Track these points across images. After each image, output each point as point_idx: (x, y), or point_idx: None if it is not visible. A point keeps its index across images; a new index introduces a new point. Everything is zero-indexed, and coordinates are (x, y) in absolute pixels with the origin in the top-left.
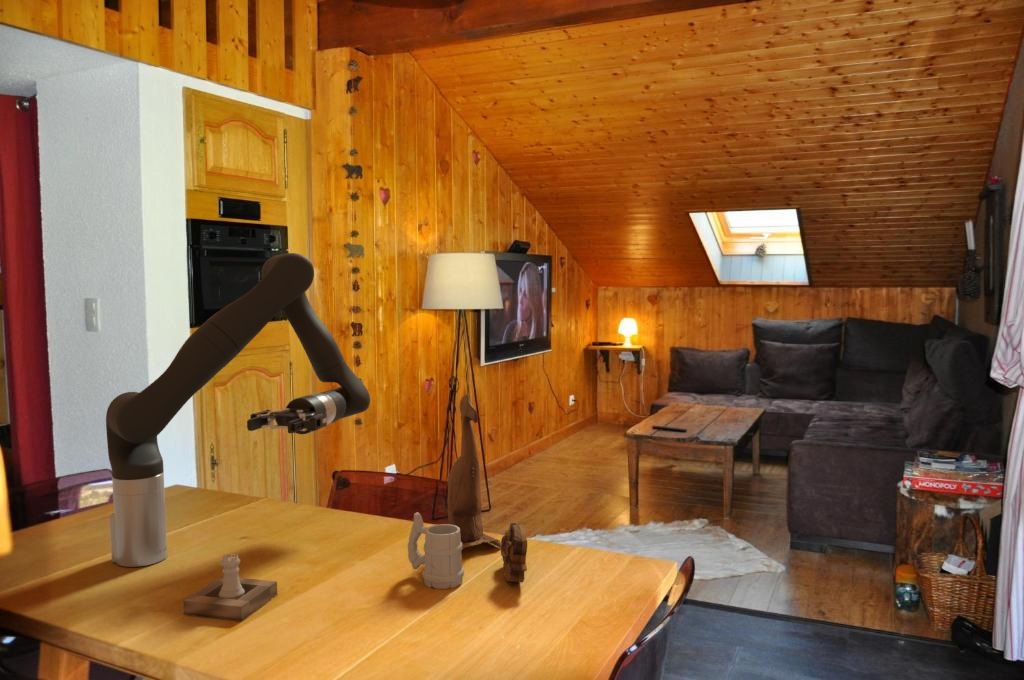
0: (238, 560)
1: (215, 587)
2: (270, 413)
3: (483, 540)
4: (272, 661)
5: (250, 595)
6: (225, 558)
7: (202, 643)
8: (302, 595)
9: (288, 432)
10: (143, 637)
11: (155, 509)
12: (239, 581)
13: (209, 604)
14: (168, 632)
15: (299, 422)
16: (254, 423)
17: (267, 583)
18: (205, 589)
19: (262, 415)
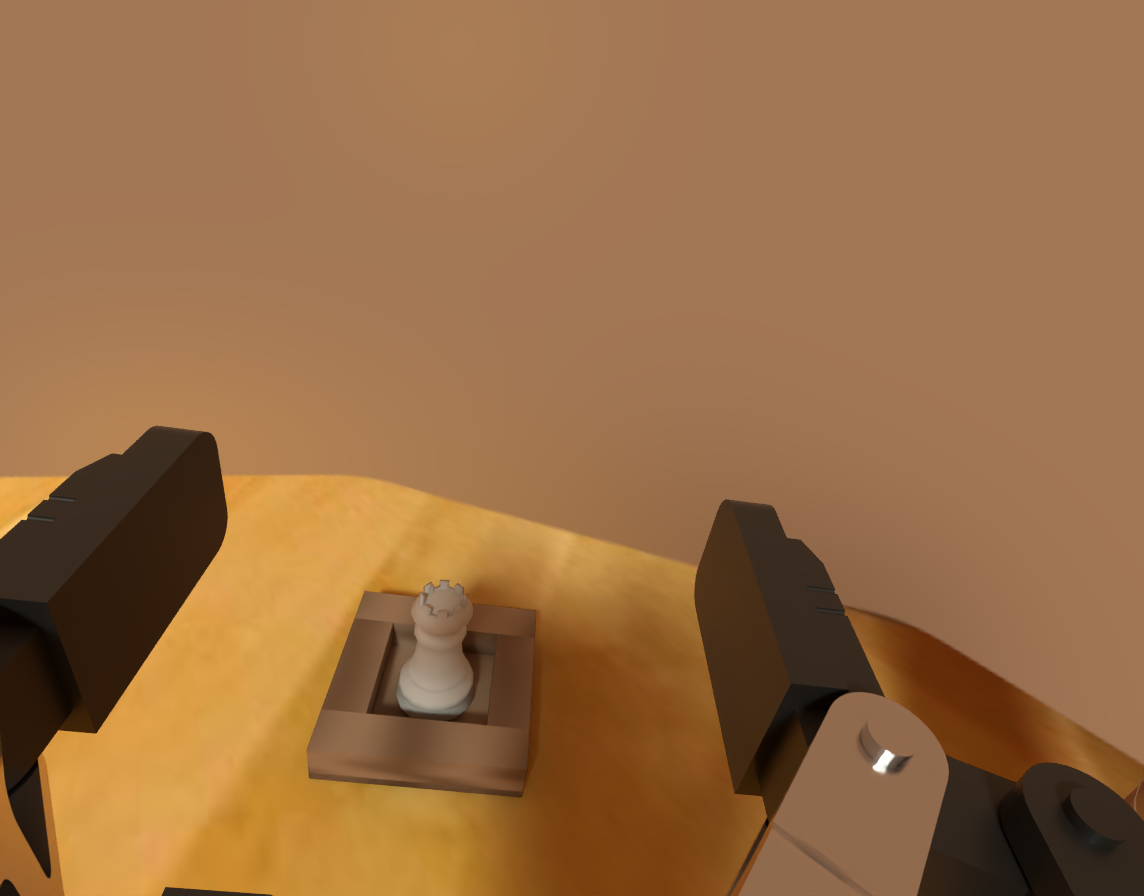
0: (415, 606)
1: (495, 683)
2: (768, 834)
3: None
4: (244, 497)
5: (364, 648)
6: (458, 599)
7: (413, 540)
8: (212, 790)
9: (221, 525)
10: (547, 552)
11: None
12: (415, 664)
13: None
14: (510, 570)
15: (31, 528)
16: (724, 582)
17: (337, 729)
18: (517, 670)
19: (836, 741)
